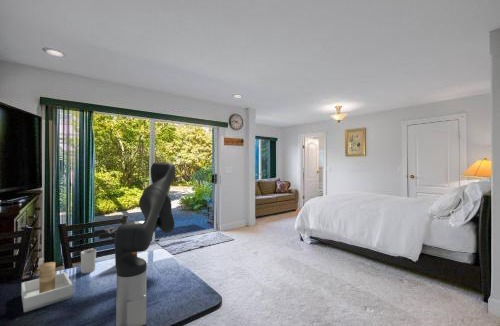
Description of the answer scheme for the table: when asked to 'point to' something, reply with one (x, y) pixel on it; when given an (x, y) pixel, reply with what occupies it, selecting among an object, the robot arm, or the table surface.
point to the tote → (36, 300)
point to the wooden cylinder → (47, 277)
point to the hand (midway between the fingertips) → (96, 234)
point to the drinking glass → (88, 260)
